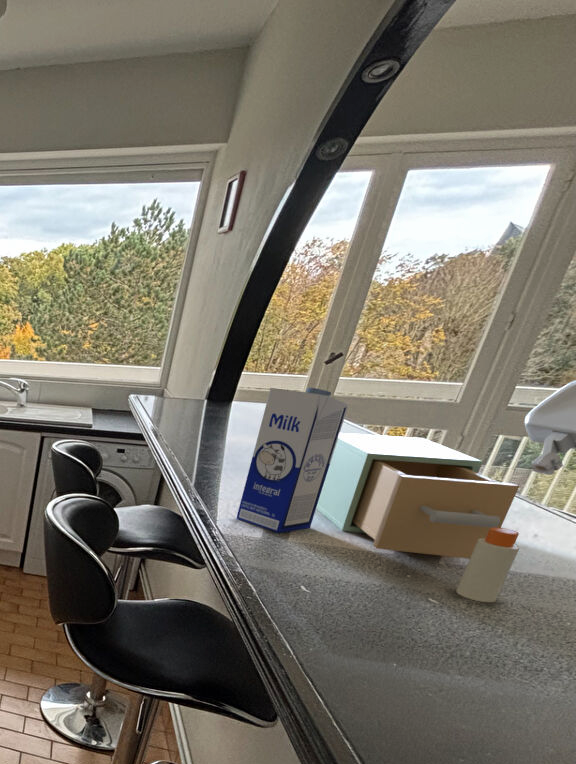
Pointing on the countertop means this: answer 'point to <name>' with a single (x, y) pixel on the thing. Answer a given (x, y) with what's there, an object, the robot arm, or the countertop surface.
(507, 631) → the countertop surface
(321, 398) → the milk carton
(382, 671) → the countertop surface
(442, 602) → the countertop surface
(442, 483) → the drawer
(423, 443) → the cabinet
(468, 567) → the glue
